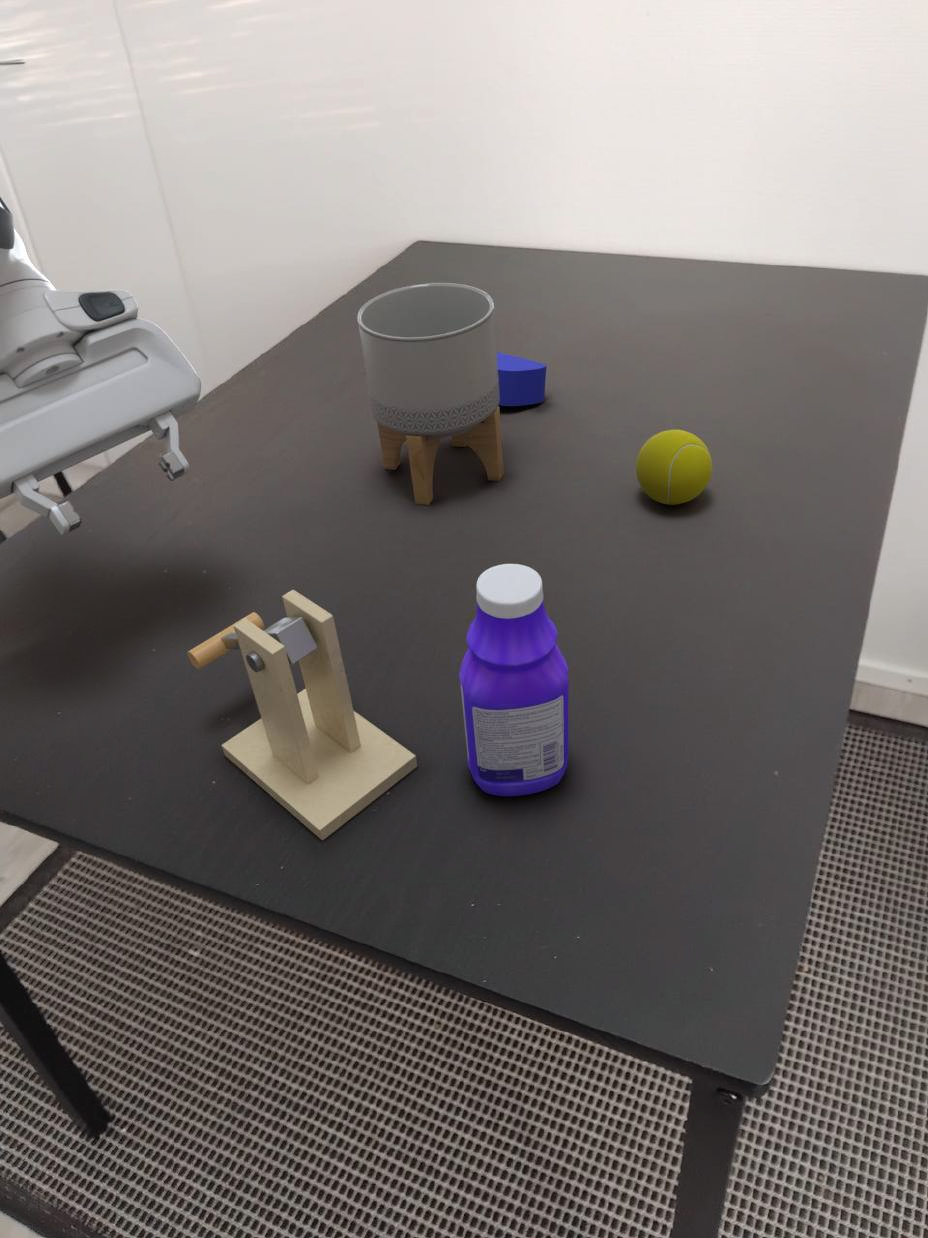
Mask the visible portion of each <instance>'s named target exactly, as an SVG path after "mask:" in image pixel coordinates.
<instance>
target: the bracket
mask: <svg viewBox="0 0 928 1238" xmlns="http://www.w3.org/2000/svg"><path fill="white" fill-rule="evenodd" d="M281 597H282V602H283V605H284V610H285V613H286V618H292V617H302V618H303V620H304V622H305V624H306V625H307V627H308V629H309V631H310V633H311V635H312V637H313V639H314V641H315V643H316V644H317V646H318V648H317V649H316V650H314V651H313V652H311V653H310V654H308V655H307V656H305V657H304V658H302V659H300V660H299V661H298V664H299V668H300V673H301V676H302V679H303V683H304V687H305V688H304V689H302V690H301V691H299V692H297V688H296V684H295V680H294V677H293V673H292V669H291V664H289V661H288V658H287V654H286V650H285V646H284V645H282V644H281V643H279V642H278V641H277V640H275V639H274V638H272V637H271V636H270V635H268V634H267V633H265V632H264V630H261V629H260V628H258V627H257V626H255V625H254V624H253V623H251V622H250V621H248V620H247V619H246V618H245V619H243V618H242V619H243V620H241V619H240V620H241V621H240V622H238V621H237V622H238V623H236V622H235V623H236V624H235V625H233V624H232V625H233V626H234V630H235V633H236V636H237V639H238V643H239V646H240V649H241V650H240V653H241V656H242V658H243V663H244V666H245V669H246V672H247V676H248V678H249V682H250V685H251V688H252V689H251V690H252V692H253V695H254V699H255V702H256V705H257V709H258V712H259V715H260V718H259V719H258V720H257V721H255V722H253V723H252V724H251V725H249V726H248V727H246V728H245V729H243V730H242V731H240V732H239V733H237V734H236V735H235V736H233V737H231V738H229V739H228V740H227V741H226V742H223V743H222V744H221V748H222V751H223V753H224V756H225V757H226V758H227V759H228V760H229V761H231V762H232V763H233V764H234V765H235V766H236V767H237V768H239V770H241V771H242V772H243V773H244V774H246V776H247V777H249V779H251V780H252V781H254V782H255V783H256V784H257V785H258V786H259V787H260V788H261V789H262V790H263V791H265V792H266V793H267V794H268V795H269V796H270V797H271V798H273V799H274V800H275V801H276V802H277V803H279V804H280V805H281V806H282V807H283V808H284V809H285V810H287V811H288V812H289V813H290V814H291V815H292V816H293V817H294V818H296V819H297V820H298V821H299V822H300V823H301V824H303V825H304V827H306V828H307V829H308V830H310V832H312V833H313V835H315V836H316V837H317V838H319V839H320V840H321V841H325V840H326V839H327V838H328V837H329V836H331V835H332V834H333V833H335V832H336V831H337V830H338V829H340V828H341V827H342V826H343V825H345V824H346V823H348V821H350V820H351V819H352V818H353V817H355V816H356V815H358V814H359V813H360V812H362V811H363V810H364V809H365V808H366V807H368V806H369V805H370V804H372V802H374V801H376V800H377V799H378V798H379V797H380V796H382V795H383V794H384V793H386V792H387V791H388V790H389V789H391V788H392V787H393V786H394V785H396V784H397V783H398V782H400V781H401V780H402V779H403V778H405V777H406V776H407V775H408V774H410V773H411V772H412V771H413V770H415V769H416V768H418V761H417V756H416V754H414V753H413V752H411V751H410V750H408V749H407V748H406V747H404V745H402V744H400V743H399V742H397V740H395V739H394V738H392V737H391V736H390V735H387V733H386V732H384V731H383V730H381V729H380V728H379V727H377V726H376V725H374V724H373V723H371V722H370V721H369V720H367V719H366V718H365V717H363V716H362V715H361V714H359V713H358V712H357V711H355V710H354V707H353V702H352V697H351V692H350V688H349V683H348V679H347V678H348V677H347V674H346V669H345V665H344V660H343V656H342V651H341V647H340V642H339V638H338V633H337V628H336V624H335V619H334V615H333V614H332V613H330V612H329V611H327V610H326V609H324V608H322V607H321V606H319V605H318V604H316V603H315V602H313V601H311V600H310V599H309V598H308V597H306V596H304V595H302V594H301V593H299V592H297V591H296V590H295V589H292V590H290V591H288V592H286V593H285V594H283V595H282V596H281Z"/></svg>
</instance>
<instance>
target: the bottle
mask: <svg viewBox="0 0 928 1238" xmlns="http://www.w3.org/2000/svg"><path fill="white" fill-rule="evenodd" d="M475 584H476V586H475V587H476V597H475V600H476V615H475V618H474V619H473V620H472V621H471V623H470V626H469V627H468V630H467V633H466V645H467V647H468V648H467V650H466V652H465V654H464V656H463V659H462V662H461V665H460V669H459V673H458V676H459V682H460V693H461V703H462V714H463V723H464V733H465V743H466V753H467V754H466V755H467V756H466V757H467V758H466V760H467V766H468V769H469V771H470V773H471V776H472V779H473V780H474V782H475V784H476V785H477V787H479V788H480V789H481V790H482V791H483V792H484V793H486V794H488V795H489V794H490V795H493V796H498V797H517V796H518V797H519V796H525V795H532V794H537V793H541V792H544V791H546V790H549V789H551V788H552V787H554V786H556V785H558V784H559V783H560V781H561V780H562V778H563V777H564V774H565V773H566V770H567V766H568V760H569V695H570V694H569V676H568V673H569V666H568V664H567V663H568V662H567V660H566V658H565V657H564V656H563V653H562V651H561V649H560V647H559V646H558V645H557V641H558V629H557V627H556V625H555V623H554V622H553V621H552V620H551V618H550V617H549V616H548V614H547V610H546V607H545V603H544V591H543V581H542V577H541V575H540V574H539V573H538V572H537V571H536V570H535V569H534V568H532V567H529V566H527V565H523V564H520V563H503V564H498V565H494V566H491V567H490V568H487V569H486V570H484V571H483V572H482V573H480V575H479V576H478V578H477V581H476V583H475Z"/></svg>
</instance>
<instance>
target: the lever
mask: <svg viewBox="0 0 928 1238" xmlns="http://www.w3.org/2000/svg"><path fill="white" fill-rule="evenodd" d="M245 618H246V619H247V620H248V621H250V622H251V623H253V624H254V625H255V626H257V627H258V628H260V629H261V630H262V631H264V632H265V633H267V634H268V635H270V636H271V637H272V638H274V639H275V640H277V641H278V642H279V643H281V644H282V645H284V646H285V650H286V654H287V658H288V661H289V665H294V664H296V663H298V662H299V660H300V659H302V658H304V657H305V656H307V655H308V654H310V653H311V652H313V651H314V650H316V649H317V648H318V646H317V644H316V643H315V641H314V639H313V637H312V635H311V633H310V631H309V629H308V627H307V625H306V624H305V622H304V620H303V618H302V617H292V618H288V617H283V618H281V619H280V620H278V621H276V622H275V623H273V624H272V625H269V626H268V627H267V628H265V624H264V621H263V619H262V618H261V616H260V615H259V614H258V613H256V612H251V613H249V614H248V615H246V616H245V617H243V618H241V619H240V620H238V621H236V622H234V623H233V624H231V625H230V626H228V627H226V628H224V629H222V630H221V631H220V632H217V633H216V634H214V635H213V636H211V637H210V638H207V639H206V640H205V641H203V642H202V643H200V644H198V645H196V646H195V647H193V648H192V649H190V650H188V651H187V658H188V659H189V661H190V663H191V664H192V666H193V667H194V668H195V669H196V670H201V669H202V668H204V667H206V666H207V665H209V664H211V663H212V662H213V661H215V660H217V659H219V658H220V657H222V656H223V655H225V654H227V653H228V652H230V651H231V650H238V651H239V650H240V651H241V649H240V646H239V643H238V639H237V636H236V633H235V630H234V626H233V625H235V624H236V623H238V622H240V621H241V620H243V619H245Z"/></svg>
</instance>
